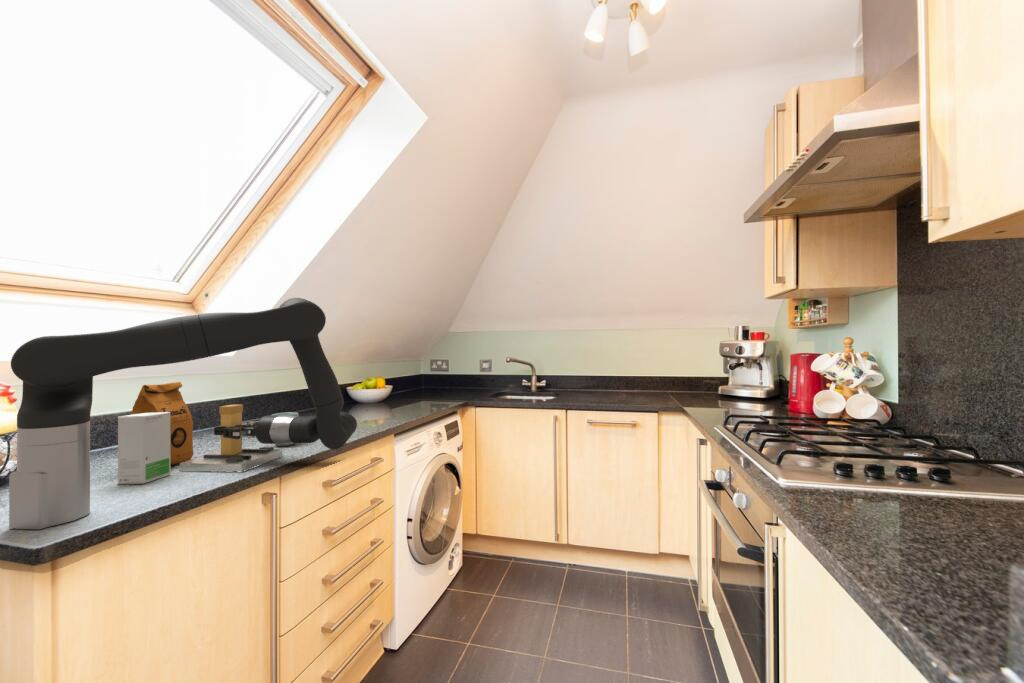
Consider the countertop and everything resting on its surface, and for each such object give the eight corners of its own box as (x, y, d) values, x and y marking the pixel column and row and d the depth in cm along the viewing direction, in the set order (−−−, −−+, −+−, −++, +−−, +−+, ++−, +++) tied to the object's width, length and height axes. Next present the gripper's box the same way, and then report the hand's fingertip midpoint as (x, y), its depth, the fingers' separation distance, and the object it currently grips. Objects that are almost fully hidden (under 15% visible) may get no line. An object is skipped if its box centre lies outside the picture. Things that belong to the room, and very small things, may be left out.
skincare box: (143, 484, 100) (143, 416, 100) (114, 484, 100) (114, 416, 100) (172, 474, 108) (172, 411, 108) (146, 474, 108) (146, 411, 108)
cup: (279, 449, 134) (279, 416, 134) (266, 446, 138) (266, 414, 139) (303, 444, 141) (303, 413, 141) (290, 441, 145) (290, 411, 145)
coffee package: (199, 460, 122) (199, 381, 122) (156, 472, 110) (156, 384, 110) (169, 458, 124) (169, 381, 124) (123, 471, 111) (123, 384, 112)
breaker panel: (241, 472, 109) (241, 461, 109) (179, 471, 111) (179, 460, 111) (282, 456, 125) (282, 446, 125) (227, 455, 126) (227, 445, 127)
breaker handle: (231, 455, 116) (231, 406, 117) (219, 455, 117) (219, 406, 117) (243, 451, 121) (243, 404, 121) (231, 451, 121) (231, 404, 121)
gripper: (296, 411, 124) (240, 411, 126) (262, 419, 110) (200, 419, 112) (296, 438, 124) (240, 437, 126) (262, 449, 110) (200, 448, 112)
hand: (222, 429), depth 119 cm, fingers closed on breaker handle, 4 cm apart
